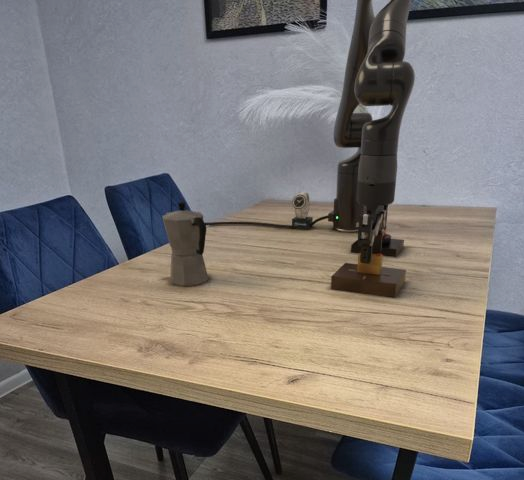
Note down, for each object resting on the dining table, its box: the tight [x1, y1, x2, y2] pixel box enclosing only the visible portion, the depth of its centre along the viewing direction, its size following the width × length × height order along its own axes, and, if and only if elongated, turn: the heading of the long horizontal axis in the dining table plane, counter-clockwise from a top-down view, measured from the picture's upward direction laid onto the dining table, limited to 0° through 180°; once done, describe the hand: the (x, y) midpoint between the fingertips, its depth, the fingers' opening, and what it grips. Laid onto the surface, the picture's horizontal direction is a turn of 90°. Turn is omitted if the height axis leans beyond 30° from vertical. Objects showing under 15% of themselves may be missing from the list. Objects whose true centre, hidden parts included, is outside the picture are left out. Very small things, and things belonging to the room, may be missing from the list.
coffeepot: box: [161, 201, 209, 287], centre depth 107 cm, size 15×9×18 cm, turn 39°
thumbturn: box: [357, 253, 384, 275], centre depth 102 cm, size 5×2×4 cm, turn 64°
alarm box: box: [350, 233, 405, 258], centre depth 128 cm, size 12×10×4 cm
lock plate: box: [330, 262, 407, 298], centre depth 104 cm, size 14×10×3 cm
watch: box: [291, 191, 314, 231], centre depth 151 cm, size 6×8×11 cm
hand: (370, 257), depth 102 cm, fingers open, 8 cm apart
